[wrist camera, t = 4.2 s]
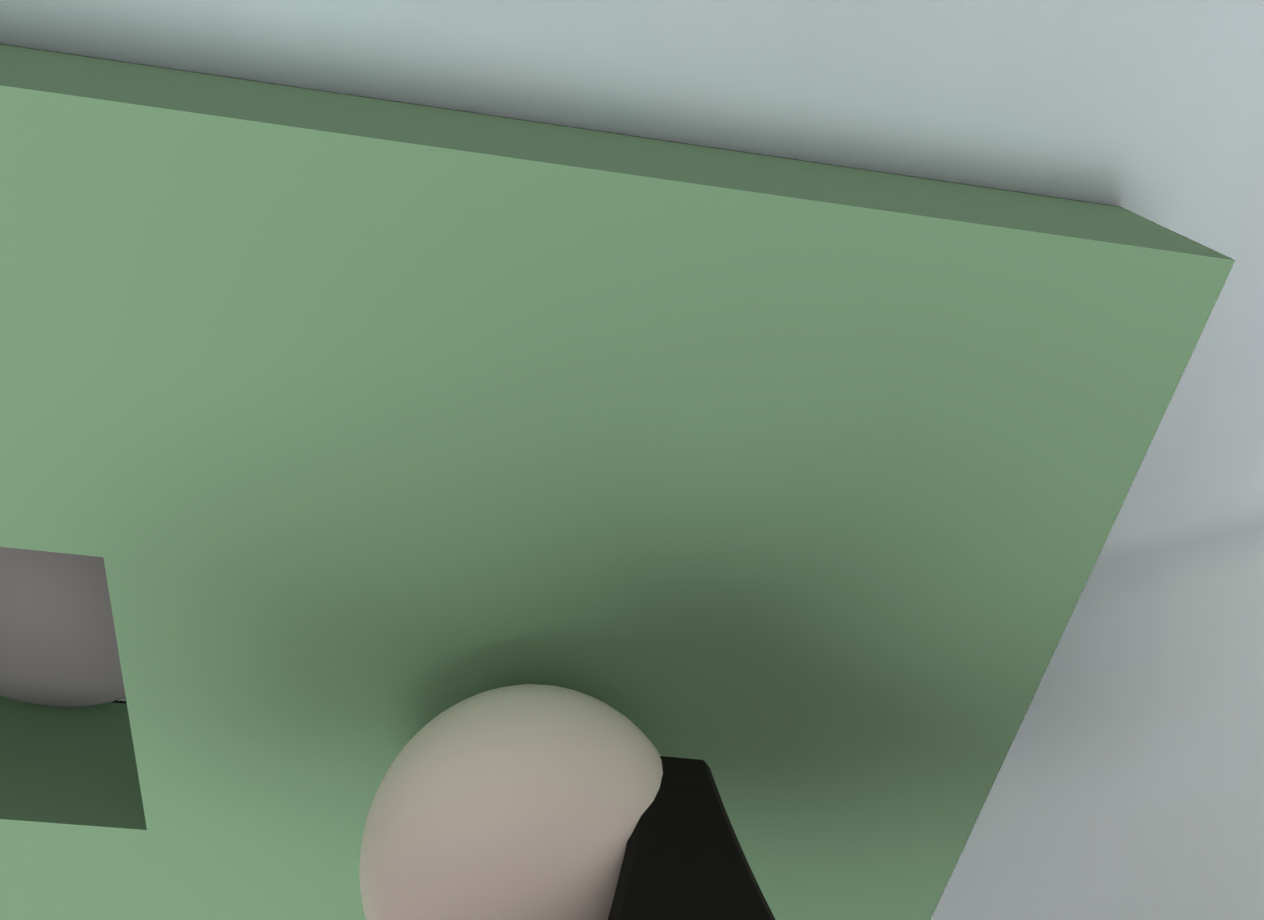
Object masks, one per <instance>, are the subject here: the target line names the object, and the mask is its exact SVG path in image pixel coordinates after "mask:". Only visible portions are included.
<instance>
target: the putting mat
mask: <svg viewBox="0 0 1264 920" xmlns="http://www.w3.org/2000/svg"><path fill="white" fill-rule="evenodd" d="M1234 262H1235V260H1233V259H1231V258H1229V257H1227V256H1225V255H1223V254H1221V253H1218V252H1216V251H1214V250H1212V249H1210V248H1208V247H1205V246H1203V245H1201V244H1199V243H1197V242H1195V241H1193V240H1190V239H1188V238H1186V237H1184V236H1182V235H1180V234H1178V233H1175V232H1173V231H1171V230H1169V229H1167V228H1165V227H1162V226H1160V225H1158V224H1156V223H1154V222H1152V221H1150V220H1147V219H1145V218H1143V217H1141V216H1139V215H1137V214H1135V213H1132V212H1130V211H1128V210H1126V209H1124V208H1122V207H1116V206H1109V205H1102V204H1095V203H1089V202H1082V201H1075V200H1068V199H1061V198H1054V197H1047V196H1040V195H1034V194H1027V193H1020V192H1013V191H1006V190H999V189H992V188H985V187H979V186H972V185H965V184H958V183H951V182H944V181H937V180H930V179H924V178H917V177H910V176H903V175H896V174H889V173H882V172H875V171H869V170H862V169H855V168H848V167H841V166H834V165H827V164H820V163H814V162H807V161H800V160H793V159H786V158H779V157H772V156H765V155H759V154H752V153H745V152H738V151H731V150H724V149H717V148H710V147H704V146H697V145H690V144H683V143H676V142H669V141H662V140H655V139H649V138H642V137H635V136H628V135H621V134H614V133H607V132H600V131H594V130H587V129H580V128H573V127H566V126H559V125H552V124H545V123H539V122H532V121H525V120H518V119H511V118H504V117H497V116H490V115H484V114H477V113H470V112H463V111H456V110H449V109H442V108H435V107H429V106H422V105H415V104H408V103H401V102H394V101H387V100H380V99H374V98H367V97H360V96H353V95H346V94H339V93H332V92H325V91H319V90H312V89H305V88H298V87H291V86H284V85H277V84H270V83H264V82H257V81H250V80H243V79H236V78H229V77H222V76H215V75H209V74H202V73H195V72H188V71H181V70H174V69H167V68H160V67H154V66H147V65H140V64H133V63H126V62H119V61H112V60H105V59H99V58H92V57H85V56H78V55H71V54H64V53H57V52H50V51H44V50H37V49H30V48H23V47H16V46H9V45H2V44H0V920H366V919H365V915H364V911H363V905H362V898H361V890H360V881H359V866H360V851H361V842H362V837H363V833H364V828H365V824H366V819H367V815H368V812H369V810H370V807H371V804H372V802H373V799H374V796H375V794H376V791H377V789H378V787H379V785H380V783H381V781H382V779H383V778H384V776H385V774H386V772H387V770H388V769H389V767H390V765H391V764H392V762H393V761H394V760H395V758H396V757H397V756H398V754H399V753H400V751H401V750H402V749H403V747H404V746H405V745H406V744H407V743H408V742H409V741H410V740H411V739H412V738H413V737H414V736H415V735H416V734H417V732H418V731H420V730H421V729H422V728H423V727H424V726H425V725H426V724H428V723H429V722H430V721H431V720H433V719H434V718H435V717H436V716H438V715H439V714H440V713H442V712H443V711H445V710H447V709H448V708H450V707H452V706H453V705H455V704H457V703H459V702H461V701H463V700H465V699H467V698H470V697H472V696H475V695H477V694H479V693H482V692H485V691H489V690H493V689H496V688H500V687H506V686H514V685H523V684H538V685H552V686H558V687H563V688H568V689H572V690H575V691H578V692H581V693H584V694H587V695H589V696H591V697H594V698H596V699H598V700H600V701H602V702H604V703H606V704H608V705H609V706H611V707H612V708H614V709H615V710H617V711H619V712H620V713H621V714H623V715H624V716H625V717H627V718H628V719H629V720H630V721H631V722H632V723H633V724H635V725H636V726H637V727H638V728H639V729H640V730H641V731H642V732H643V733H644V734H645V736H646V737H647V738H648V739H649V740H650V741H651V742H652V744H653V745H654V746H655V748H656V749H657V750H658V752H659V753H660V755H661V756H666V757H677V758H688V759H699V760H704V761H705V762H706V763H707V765H708V766H709V767H710V769H711V772H712V775H713V778H714V781H715V783H716V786H717V789H718V792H719V794H720V797H721V800H722V802H723V805H724V807H725V810H726V812H727V815H728V817H729V820H730V822H731V825H732V827H733V829H734V832H735V834H736V836H737V839H738V841H739V843H740V846H741V848H742V850H743V852H744V855H745V857H746V859H747V861H748V864H749V866H750V868H751V870H752V872H753V874H754V877H755V879H756V881H757V883H758V885H759V887H760V889H761V891H762V893H763V895H764V897H765V899H766V901H767V903H768V905H769V907H770V909H771V911H772V914H773V916H774V918H775V920H931V917H932V915H933V913H934V911H935V909H936V907H937V904H938V902H939V900H940V898H941V896H942V894H943V891H944V889H945V887H946V885H947V883H948V881H949V878H950V876H951V874H952V872H953V870H954V868H955V865H956V863H957V861H958V859H959V857H960V855H961V852H962V850H963V848H964V846H965V844H966V842H967V839H968V837H969V835H970V833H971V831H972V829H973V827H974V824H975V822H976V820H977V818H978V816H979V814H980V811H981V809H982V807H983V805H984V803H985V801H986V798H987V796H988V794H989V792H990V790H991V788H992V785H993V783H994V781H995V779H996V777H997V775H998V772H999V770H1000V768H1001V766H1002V764H1003V762H1004V759H1005V757H1006V755H1007V753H1008V751H1009V749H1010V746H1011V744H1012V742H1013V740H1014V738H1015V736H1016V733H1017V731H1018V729H1019V727H1020V725H1021V723H1022V720H1023V718H1024V716H1025V714H1026V712H1027V710H1028V707H1029V705H1030V703H1031V701H1032V699H1033V697H1034V694H1035V692H1036V690H1037V688H1038V686H1039V684H1040V682H1041V679H1042V677H1043V675H1044V673H1045V671H1046V669H1047V666H1048V664H1049V662H1050V660H1051V658H1052V656H1053V653H1054V651H1055V649H1056V647H1057V645H1058V643H1059V640H1060V638H1061V636H1062V634H1063V632H1064V630H1065V627H1066V625H1067V623H1068V621H1069V619H1070V617H1071V614H1072V612H1073V610H1074V608H1075V606H1076V604H1077V601H1078V599H1079V597H1080V595H1081V593H1082V591H1083V588H1084V586H1085V584H1086V582H1087V580H1088V578H1089V575H1090V573H1091V571H1092V569H1093V567H1094V565H1095V562H1096V560H1097V558H1098V556H1099V554H1100V552H1101V549H1102V547H1103V545H1104V543H1105V541H1106V539H1107V537H1108V534H1109V532H1110V530H1111V528H1112V526H1113V524H1114V521H1115V519H1116V517H1117V515H1118V513H1119V511H1120V508H1121V506H1122V504H1123V502H1124V500H1125V498H1126V495H1127V493H1128V491H1129V489H1130V487H1131V485H1132V482H1133V480H1134V478H1135V476H1136V474H1137V472H1138V469H1139V467H1140V465H1141V463H1142V461H1143V459H1144V456H1145V454H1146V452H1147V450H1148V448H1149V446H1150V443H1151V441H1152V439H1153V437H1154V435H1155V433H1156V430H1157V428H1158V426H1159V424H1160V422H1161V420H1162V417H1163V415H1164V413H1165V411H1166V409H1167V407H1168V404H1169V402H1170V400H1171V398H1172V396H1173V394H1174V391H1175V389H1176V387H1177V385H1178V383H1179V381H1180V379H1181V376H1182V374H1183V372H1184V370H1185V368H1186V366H1187V363H1188V361H1189V359H1190V357H1191V355H1192V353H1193V350H1194V348H1195V346H1196V344H1197V342H1198V340H1199V337H1200V335H1201V333H1202V331H1203V329H1204V327H1205V324H1206V322H1207V320H1208V318H1209V316H1210V314H1211V311H1212V309H1213V307H1214V305H1215V303H1216V301H1217V298H1218V296H1219V294H1220V292H1221V290H1222V288H1223V285H1224V283H1225V281H1226V279H1227V277H1228V275H1229V272H1230V270H1231V268H1232V266H1233V264H1234ZM125 697H126V702H127V704H125V703H113V702H112V701H115V700H119V699H122V698H125Z"/></svg>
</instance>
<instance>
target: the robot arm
mask: <svg viewBox="0 0 1264 920" xmlns="http://www.w3.org/2000/svg"><path fill="white" fill-rule="evenodd" d="M660 758H661V761H662V770H663V775H662V779H661V784H660V788H659V790H658V792H657V794H656V796H655V799H654V801H653V802H652V803H651V805H650V806H649V807H648V808H647V809H646V810H645V812H644V813H643V814H642V815H641V817H640V819H639V821H638V823H637V825H636V827H635V828H634V830H633V832H632V834H631V836H630V837H629V839H628V841H627V844H626V849H625V854H624V858H623V862H622V866H621V870H620V874H619V878H618V882H617V886H616V890H615V894H614V898H613V902H612V906H611V909H610V913H609V916H608V920H775V918H774V916H773V914H772V911H771V909H770V907H769V905H768V903H767V901H766V899H765V897H764V895H763V893H762V891H761V889H760V887H759V885H758V883H757V881H756V879H755V877H754V874H753V872H752V870H751V868H750V866H749V864H748V861H747V859H746V857H745V855H744V852H743V850H742V848H741V846H740V843H739V841H738V839H737V836H736V834H735V832H734V829H733V827H732V825H731V822H730V820H729V817H728V815H727V812H726V810H725V807H724V805H723V802H722V800H721V797H720V794H719V792H718V789H717V786H716V783H715V781H714V778H713V775H712V772H711V769H710V767H709V766H708V765H707V763H706V762H705V761H704V760H699V759H688V758H677V757H666V756H660Z"/></svg>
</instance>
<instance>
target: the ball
mask: <svg viewBox="0 0 1264 920" xmlns="http://www.w3.org/2000/svg"><path fill="white" fill-rule="evenodd" d="M660 756H661V755H660V753H659V752H658V750H657V749H656V748H655V746H654V745H653V744H652V742H651V741H650V740H649V739H648V738H647V737H646V736H645V734H644V733H643V732H642V731H641V730H640V729H639V728H638V727H637V726H636V725H635V724H633V723H632V722H631V721H630V720H629V719H628V718H627V717H625V716H624V715H623V714H621V713H620V712H619V711H617V710H615V709H614V708H612V707H611V706H609V705H608V704H606V703H604V702H602V701H600V700H598V699H596V698H594V697H591V696H589V695H587V694H584V693H581V692H578V691H575V690H572V689H568V688H563V687H558V686H552V685H538V684H523V685H514V686H506V687H500V688H496V689H493V690H489V691H485V692H482V693H479V694H477V695H475V696H472V697H470V698H467V699H465V700H463V701H461V702H459V703H457V704H455V705H453V706H452V707H450V708H448V709H447V710H445V711H443V712H442V713H440V714H439V715H438V716H436V717H435V718H434V719H433V720H431V721H430V722H429V723H428V724H426V725H425V726H424V727H423V728H422V729H421V730H420V731H418V732H417V734H416V735H415V736H414V737H413V738H412V739H411V740H410V741H409V742H408V743H407V744H406V745H405V746H404V747H403V749H402V750H401V751H400V753H399V754H398V756H397V757H396V758H395V760H394V761H393V762H392V764H391V765H390V767H389V769H388V770H387V772H386V774H385V776H384V778H383V779H382V781H381V783H380V785H379V787H378V789H377V791H376V794H375V796H374V799H373V802H372V804H371V807H370V810H369V812H368V815H367V819H366V824H365V828H364V833H363V837H362V842H361V851H360V866H359V881H360V890H361V898H362V905H363V911H364V915H365V919H366V920H608V916H609V913H610V909H611V906H612V902H613V898H614V894H615V890H616V886H617V882H618V878H619V874H620V870H621V866H622V862H623V858H624V854H625V849H626V844H627V841H628V839H629V837H630V836H631V834H632V832H633V830H634V828H635V827H636V825H637V823H638V821H639V819H640V817H641V815H642V814H643V813H644V812H645V810H646V809H647V808H648V807H649V806H650V805H651V803H652V802H653V801H654V799H655V796H656V794H657V792H658V790H659V788H660V784H661V779H662V775H663V770H662V761H661V758H660Z"/></svg>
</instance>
